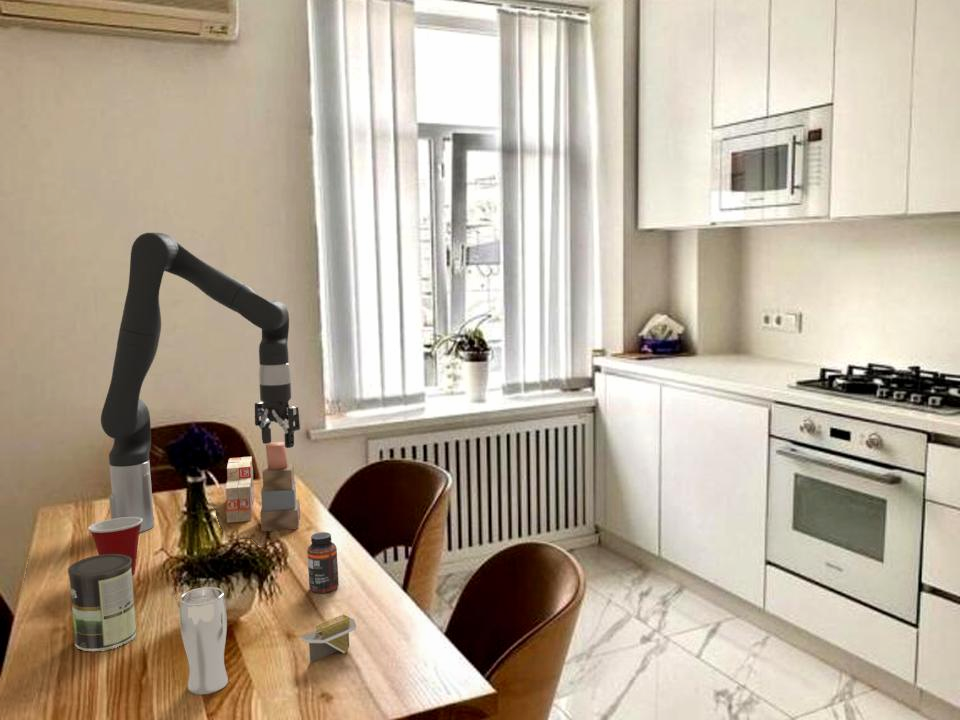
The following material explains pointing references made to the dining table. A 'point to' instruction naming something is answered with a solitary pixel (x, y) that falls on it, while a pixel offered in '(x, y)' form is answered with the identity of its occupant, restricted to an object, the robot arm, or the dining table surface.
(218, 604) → the beer glass
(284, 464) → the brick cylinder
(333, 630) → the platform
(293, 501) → the tower middle
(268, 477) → the tower top
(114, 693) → the dining table surface
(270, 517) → the tower bottom
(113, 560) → the coffee can
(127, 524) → the plastic cup
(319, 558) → the supplement bottle
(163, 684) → the dining table surface
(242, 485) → the stack of blocks
